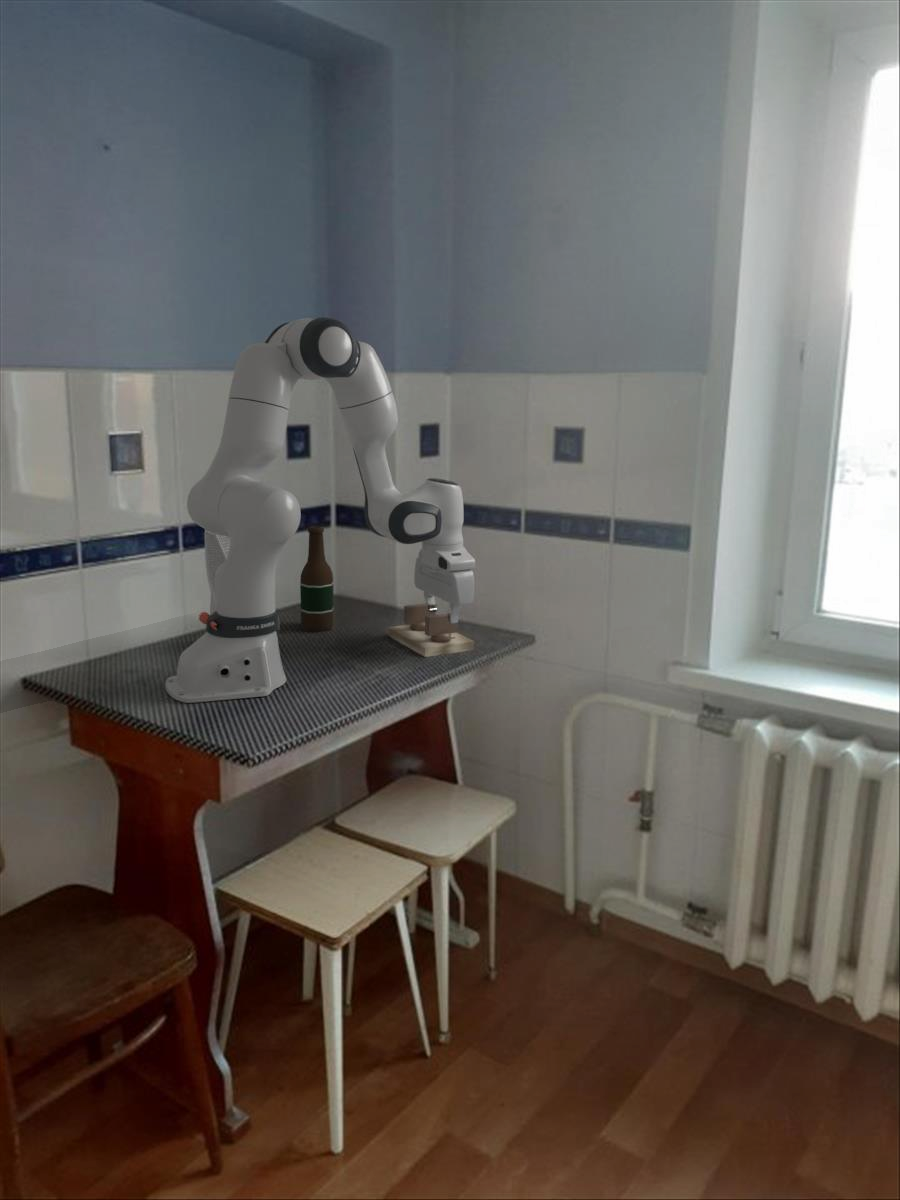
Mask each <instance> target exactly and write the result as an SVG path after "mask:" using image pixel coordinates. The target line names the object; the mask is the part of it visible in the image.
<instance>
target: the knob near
mask: <svg viewBox="0 0 900 1200" xmlns="http://www.w3.org/2000/svg"><path fill="white" fill-rule="evenodd" d="M450 612H451V610H450V611H449V610H448V612H447V613H441V614H435V615H432V616H425V634H426V635H427V636H431V640H432V641H434V642H448V641H450V640H451V633H456V632H457V633H458V622H457V623H451V622H449V621H448V614H450Z"/></svg>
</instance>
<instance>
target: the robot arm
mask: <svg viewBox="0 0 900 1200" xmlns="http://www.w3.org/2000/svg"><path fill="white" fill-rule="evenodd" d="M301 379H302V380H309V381H313V380H314V381H316V380H321V379H324V380H325V381H326V382H327V383H328V384H329V386H330V387H331V389H332V391H333V392H334V396H335V400H336V403H337V405H338V410H339V413H340V415H341V418H342V421H343V424H344V426H345V429H346V432H347V434H348V437H349V439H350V442H351V443H350V444H351V446H352V449H353V454H354V457H355V460H356V461H355V462H356V465H357V467H358V468H357V469H358V471H359V472H358V473H359V475H360V479H361V483H362V487H363V491H364V506H363V510H364V511H363V515H364V521H365V524H366V526H367V527H368V528H369V530H370V532H372V533H373V534H375V535H377V536H379V537H383V538H387V539H390V540H392V541H394V542H397V543H399V544H402V545H412V544H417V543H421V549H420V550H419V552H418V557H416V558H415V559H416V560H415V564H414V573H413V574H414V577H413V580H414V581H413V582H414V585H415V588H417V589H418V590H420V591H423V596H424V601H425V603H426V604H427V611H428V612H431V613H433V612H435V613H436V612H438V608H437V607H438V604H437V603H436V600H435V598H437V599H440V600H442V601H444V602H447V603H448V604H449V608H450V611H451V612H450V614H448V613H447V614H448V621H449V622H451V623H457V624H458V622H459V615H460V613H461V610H462V608H463V607H467V606H471V605H472V603H473V601H474V595H475V576H474V572H473V569H475V568H476V559H475V558H474V557H473V556H472V555H471V554H470V553H469V552H468V551H467V549H466V547H464V536H463V531H462V529H463V525H464V519H465V518H464V515H465V514H464V513H465V512H464V497H463V491H462V488H461V486H460V485H459V484H458V483H457V482H454V481H452V480H446V479H443V478H435V477H434V478H433V477H429V478H427V479H425V480H424V482H423V483H422V484H420V486H419V487H417V488H416V489H415V488H414V490H412V491H409V493H406V494H402V493H401V492H400V491H399V490H398V489H397V488H396V486H395V484H394V482H393V477H392V474H391V470H390V466H389V462H388V458H387V454H386V445H387V441H388V440H389V438H390V437H391V436H392V435H393V434H394V432H395V431H396V429H397V428H398V427H397V426H398V424H399V415H398V410H397V409H398V408H397V404H396V400H395V396H394V393H393V389H392V386H391V383H390V381H389V378H388V375H387V373H386V370H385V367H384V366H383V364H382V362H381V359H380V358H379V356H378V354H377V353H376V351H375V348H373V346H371V345H370V344H369V343H367V342H363V341H358V340H357V339H356V338H355V336H354V334H353V333H352V331H351V330H350V328H349V327H348V326H346V324H344V323H343V322H342V321H340V320H338V319H335V318H332V317H325V316H321V317H320V316H319V317H317V318H309V317H307V318H301V319H300V318H299V319H296V320H293V321H291V322H285V323H282V324H280V325H279V326H277V327H276V328H275V329H274V330H273V331H272V332H271V333H270V334H269V335H268V337H267V339H266V340H265V341H264V342H256V343H253V344H248V345H247V346H246V347H245V348H243V350H242V351H241V353H240V355H239V357H238V360H237V363H236V366H235V370H234V373H233V375H232V379H231V382H230V383H231V384H230V389H229V394H228V401H227V407H226V413H225V419H224V424H223V430H222V433H221V434H222V435H221V438H220V439H221V440H220V442H219V446H218V449H217V451H216V454H214V455H215V456H214V457H213V460H212V461H211V464H210V465H209V467H208V470H207V471H206V473H205V475H203V477H201V479H200V480H198V481H197V482H196V483H195V484H194V485H193V486H192V487H191V489H190V490H189V493H188V496H187V501H186V508H187V512H188V515H189V517H190V519H191V520H192V522H193V523H195V524H196V525H197V526H198V527H201V528H203V529H204V530H205V529H206V530H207V531H209V532H211V533H214V534H218V535H223V536H228V537H230V548H229V553H228V556H227V559H226V561H225V562H224V563H222V564H221V565H220V566H219V567H218V568H217V570H216V573H215V590H216V611H215V612H214V613H213V614H212V615H211V616H210V613H208V612H206V611H202V612H200V614H199V615H198V616H199V617H198V620H199V621H200V622H201V623H202V624H203V625H205V626H206V632H205V633H203V635H201V637H199V638H198V639H197V640H195V641H194V642H193V643H192V644H191V645H189V646H188V647H187V648H186V649H185V650H184V651H182V653H181V654H179V655H180V656H179V657H178V662H177V668H176V675H172V676H169V677H168V678H167V679H166V680H165V686H164V687H165V688H164V689H165V692H166V693H167V694H168V695H169V696H170V697H171V698H173V699H174V700H176V701H178V702H182V703H187V704H191V703H202V702H215V701H225V700H227V701H228V700H236V699H237V700H238V699H247V698H257V697H267V696H269V695H270V694H271V693H272V692H273V691H274V690H275V689H277V688H279V687H281V686H283V685H284V684H285V683H286V682H287V676H286V673H285V671H284V667H283V663H282V658H281V653H280V646H279V640H278V638H279V636H280V618H279V610H278V608H277V606H276V605H277V604H276V603H277V602H276V601H277V600H276V595H277V594H276V589H277V588H276V587H277V584H276V582H277V581H276V579H277V578H276V576H277V567H278V563H279V558H280V555H281V552H282V550H283V548H284V546H285V544H286V543H287V542H288V541H289V540H290V539H291V538H292V537H293V536H294V535H295V534H296V532H297V531H298V528H299V526H300V524H301V519H302V517H301V515H302V513H301V511H302V510H301V505H300V503H299V501H298V499H297V498H296V496H295V495H294V494H293V493H292V492H290V491H288V490H286V489H284V488H282V487H280V486H278V485H276V484H272V483H270V482H264V481H263V482H262V478H263V477H264V476H263V475H264V473H266V470H267V468H268V467H269V465H270V464H271V463H272V462H274V460H276V459H277V458H278V457H280V456H281V454H282V452H283V450H284V446H285V438H286V435H287V434H286V433H287V425H288V421H289V415H290V414H289V413H290V407H291V399H292V392H293V390H294V388H295V385H296V383H297V382H298V380H301ZM435 603H436V604H435Z"/></svg>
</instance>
